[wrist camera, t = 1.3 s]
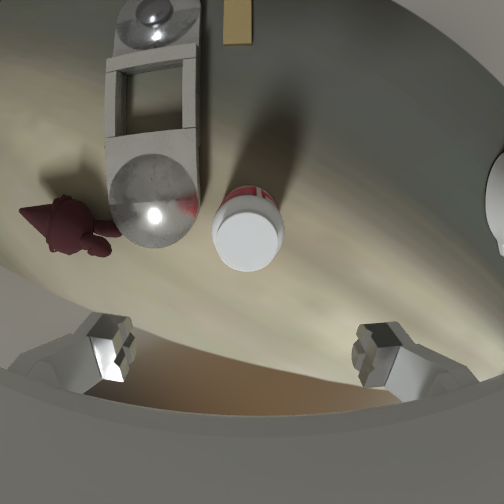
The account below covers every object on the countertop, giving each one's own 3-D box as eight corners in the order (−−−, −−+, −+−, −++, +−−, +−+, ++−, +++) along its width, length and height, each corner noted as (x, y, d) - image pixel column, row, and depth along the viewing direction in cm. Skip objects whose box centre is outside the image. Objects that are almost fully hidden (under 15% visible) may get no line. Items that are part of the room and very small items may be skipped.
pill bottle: (213, 227, 33) (194, 264, 22) (232, 176, 31) (221, 189, 21) (264, 247, 34) (269, 291, 23) (285, 197, 32) (302, 220, 21)
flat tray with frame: (125, -4, 23) (116, -13, 20) (204, -18, 23) (200, -30, 20) (124, 240, 33) (114, 248, 30) (205, 239, 33) (200, 247, 30)
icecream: (8, 249, 27) (105, 285, 30) (0, 197, 23) (107, 231, 26) (35, 221, 33) (125, 250, 36) (33, 173, 29) (131, 200, 32)
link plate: (225, -7, 24) (224, -11, 23) (251, -7, 24) (251, -12, 23) (224, 47, 26) (223, 44, 25) (251, 46, 26) (251, 43, 25)
